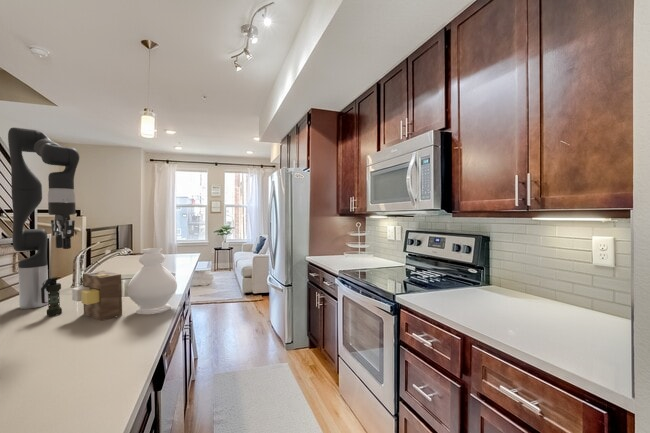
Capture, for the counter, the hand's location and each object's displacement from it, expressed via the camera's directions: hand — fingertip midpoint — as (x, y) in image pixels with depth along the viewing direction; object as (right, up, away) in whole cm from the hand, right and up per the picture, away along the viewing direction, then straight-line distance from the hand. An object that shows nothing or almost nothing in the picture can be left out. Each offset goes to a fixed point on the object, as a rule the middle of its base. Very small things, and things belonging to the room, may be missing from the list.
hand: (63, 248), depth 113 cm
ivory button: (+2, -20, +8) cm, 22 cm away
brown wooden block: (+7, -27, +10) cm, 30 cm away
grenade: (-13, -28, +10) cm, 32 cm away
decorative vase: (+24, -27, +15) cm, 39 cm away
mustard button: (+9, -20, +3) cm, 22 cm away
